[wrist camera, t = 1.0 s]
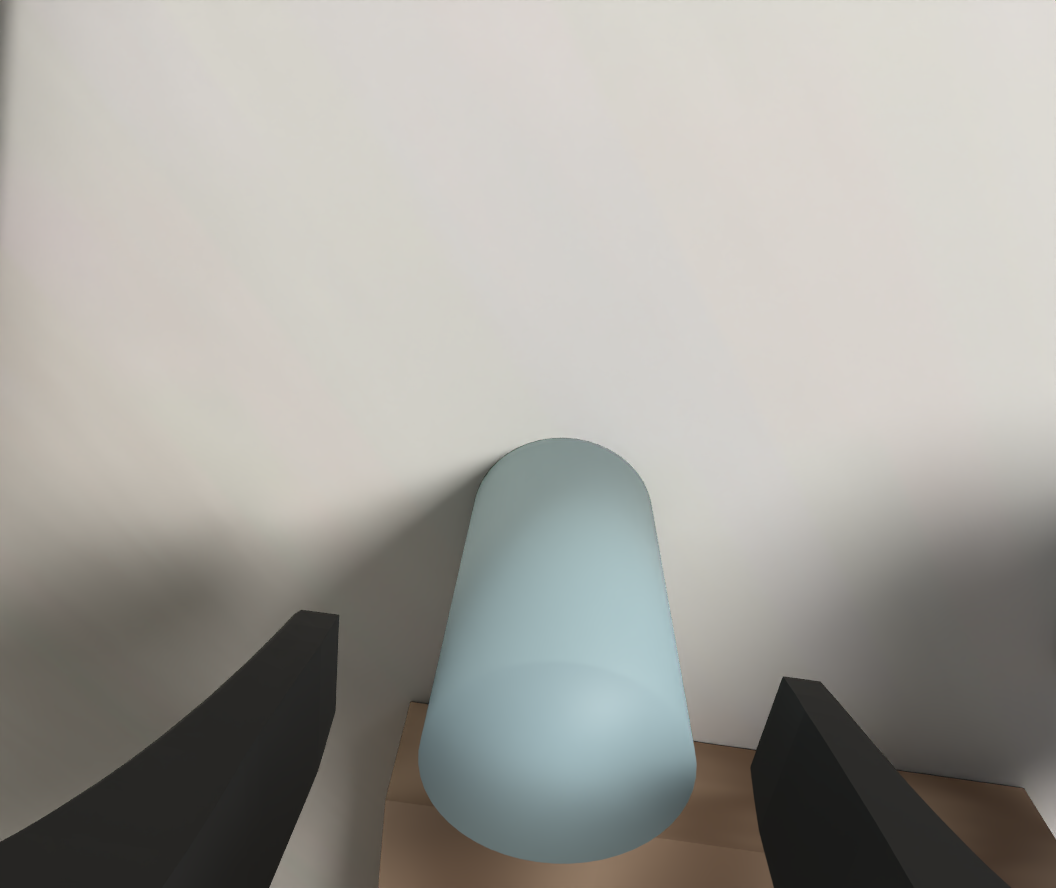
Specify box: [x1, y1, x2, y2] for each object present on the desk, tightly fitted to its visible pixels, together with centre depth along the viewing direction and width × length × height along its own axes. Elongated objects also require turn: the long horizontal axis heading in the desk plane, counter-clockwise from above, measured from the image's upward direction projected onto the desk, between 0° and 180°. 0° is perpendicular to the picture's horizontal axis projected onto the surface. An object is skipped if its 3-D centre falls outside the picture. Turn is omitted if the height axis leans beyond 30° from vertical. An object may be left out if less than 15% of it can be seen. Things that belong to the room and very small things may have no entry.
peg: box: [418, 438, 697, 864], centre depth 15 cm, size 4×4×7 cm
